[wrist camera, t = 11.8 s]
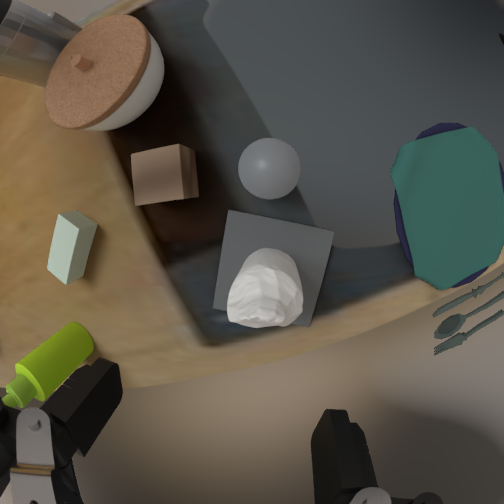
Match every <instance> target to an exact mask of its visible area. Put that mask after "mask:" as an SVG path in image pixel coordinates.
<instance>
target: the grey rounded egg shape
mask: <svg viewBox="0 0 504 504" xmlns="http://www.w3.org/2000/svg"><path fill="white" fill-rule="evenodd" d="M238 173H239V177H240V180H241V182H242V184H243V186H244V187H245V188H246V189H247V190H248V191H249V192H250V193H251V194H253V195H255V196H257V197H259V198H263V199H277V198H281V197H283V196H285V195H287V194H288V193H290V192H291V191H292V190H293V189H294V188H295V186H296V185H297V183H298V181H299V179H300V175H301V163H300V159H299V157H298V155H297V153H296V152H295V150H294V149H293V148H292V147H291V146H290V145H289V144H287V143H286V142H284V141H282V140H279V139H275V138H263V139H259V140H257V141H255V142H253V143H251V144H250V145H249V146H248V147H247V148H246V149H245V150H244V151H243V153H242V155H241V157H240V160H239V164H238Z"/></svg>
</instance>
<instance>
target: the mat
mask: <svg viewBox="0 0 504 504" xmlns="http://www.w3.org/2000/svg"><path fill="white" fill-rule="evenodd" d="M333 237H334V231H332V230H327V229H323V228H319V227H314V226H310V225H305V224H300V223H295V222H291V221H286V220H281V219H276V218H271V217H266V216H261V215H256V214H251V213H245V212H240V211H235V210H228V215H227V221H226V227H225V233H224V239H223V245H222V251H221V257H220V264H219V270H218V277H217V283H216V290H215V297H214V304H213V308H215V309H220V310H224V311H227V301H228V296H229V292H230V289H231V286H232V284H233V282H234V280H235V278H236V277H237V275H238V273H239V272H240V270H241V268H242V266H243V264H244V262H245V260H246V259H247V258H248V257H249V256H250V255H251V254H252V253H254V252H255V251H257V250H259V249H262V248H272V249H277V250H280V251H282V252H284V253H286V254H288V255H289V256H290V257H291V258H292V259H293V260H294V262H295V264H296V267H297V270H298V273H299V277H300V281H301V286H302V292H303V305H302V308H303V311H302V313H301V314H300V315H299V316H298V317H297V318H296V319H295V320H294V321H293V322H292V323H291V324H295V325H300V326H306V327H309V325H310V322H311V318H312V315H313V312H314V309H315V305H316V302H317V298H318V295H319V291H320V288H321V284H322V280H323V277H324V273H325V269H326V265H327V261H328V258H329V254H330V250H331V245H332V241H333Z"/></svg>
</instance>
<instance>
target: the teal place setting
mask: <svg viewBox="0 0 504 504" xmlns="http://www.w3.org/2000/svg"><path fill="white" fill-rule="evenodd" d="M390 173H391V177H392V180H393V182H394V185H395V188H396V189H395V197H394V210H395V219H396V229H397V234H398V237H399V239H400V242H401V245H402V247H403V250H404V253H405V256H406V258H407V259H408V260H409V262H410V263H411V264H412V265H413V267H414V270H415V276H416V277H418V278H420V279H421V280H424V281H426V282H427V283H429V284H431V285H432V286H434V287H436V289H439V290H445V289H448V288H450V287H454V288H455V287H458V286H461V285H464V284H467V283H470V282H472V281H473V280H475V279H476V278H477V277H478V276H480V275H481V274H482V273H483V272H485V271H486V270H487V268H488V267H489V266H490V265H491V264H493V263H495V262H496V261H497V259H498V257H499V255H500V253H501V250H502V248H503V245H504V172H503V169H502V166H501V164H500V162H499V160H498V156H497V153H496V150H495V149H494V147H493V146H492V145H491V144H490V143H489V142H488V141H487V140H486V139H485V138H484V136H482V135H481V134H480V133H479V132H478V131H477V130H476V129H475V128H474V127H466V126H464V125H461V124H459V123H439V124H437V125H435V126H433V127H431V128H429V129H427V130H425V131H423V132H422V133H421V134H420V135H419V136H418V137H417V139H416V140H415V141H411V142H408V143H406V144H404V145H403V146H402V147H400V148H399V151H398V154H397V157H396V160H395V163H394V164H393V166H392V168H391V171H390ZM503 277H504V273H503V272H502V274H501V275H500V276H499V277H497V278H496V279H495V280H493V281H491V282H489V283H488V284H486V285H484V286H478V288H477V289H475V290H474V289H472V292H470V293H468V294H465V295H463V296H461V297H459V298H457V299H455V300H453V301H451V302H449V303H447V304H445V305H444V306H442V307H440V308H438V309H437V310H436V311H435V313H434V314H433V317H436V316H438V315H439V314H441V313H443V312H445V311H447V310H449V309H451V308H453V307H455V306H457V305H458V304H460V303H462V302H464V301H466V300H467V299H469V298H471V297H472V296H474V297H475V298H476V296H477V295H478V294H482V293H483V291H484V290H485V289H486V288H488V287H489V286H490V285H492V284H493V283H494V282H496V281H498V280H499V279H501V278H503ZM503 298H504V291H502V292H501V293H500V294H498V295H497V296H496V297H494V298H493V299H492V300H490V301H489V302H487V303H486V304H484V305H483V306H481V307H479V308H477V309H476V310H474V311H472V312H470V313H468V314H467V315H461V314H456V315H452V316H450V317H448V318H447V319H446V320H444V321H443V322H442V323H441V325H440V326H439V327H438V328H437V330H436V331H435V332H434V335H435V338H437V339H443V338H446V337H449V336H451V335H452V334H454V333H455V332H456V331H458V330H459V329H460V328H461V326H462V325H463V323H464V322H465V320H466V318H467V317H470V316H472V315H474V314H476V313H478V312H480V311H482V310H484V309H486V308H488V307H489V306H491V305H493V304H494V303H496V302H498V301H499V300H501V299H503ZM503 315H504V311H503V310H500V311H498V312H497V313H496V314H494V315H493V316H491V317H489V318H488V319H486V320H484V321H483V322H481V323H479V324H478V325H476V326H475V327H474V328H473V329H471V330H470V331H468V332H467V333H464V332H463V333H457V334H456V335H454V336H453V337H451V338H450V339H448V340H446V341H445V342H443V343H441V344H439V345H438V346H436V347H435V348H434V349H436V350H435V351H434V352H436V353H435V354H434V355H437V354H439V353H441V352H443V351H445V350H448V349H450V348H453V347H455V346H458V345H461V344H462V342H463V340H467V337H469V336H470V335H472V334H473V333H475V332H476V331H477V330H479V329H481V328H482V327H484V326H486V325H488V324H489V323H491V322H493V321H494V320H496V319H498V318H499V317H501V316H503ZM437 348H438V349H437ZM437 351H438V352H437Z"/></svg>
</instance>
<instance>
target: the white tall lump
mask: <svg viewBox="0 0 504 504" xmlns="http://www.w3.org/2000/svg"><path fill="white" fill-rule="evenodd" d="M302 305H303V292H302V286H301V281H300V277H299V273H298V270H297V267H296V264H295V262H294V260H293V259H292V258H291V257H290V256H289V255H288V254H286V253H284V252H282V251H280V250H277V249H272V248H262V249H259V250H257V251H255V252H254V253H252V254H251V255H250V256H249V257H248V258H247V259H246V260H245V262H244V264H243V266H242V268H241V270H240V272H239V273H238V275H237V277H236V278H235V280H234V282H233V284H232V286H231V289H230V292H229V296H228V301H227V314H228V318H229V321H230V322H236V323H239V324H241V325H245V326H249V327H254V328H260V327H268V326H276V325H279V326H287V325H289V324H291V323H292V322H293V321H294V320H295V319H296V318H297V317H298V316H299V315H300V314H301V313H302V311H303V308H302Z"/></svg>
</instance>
